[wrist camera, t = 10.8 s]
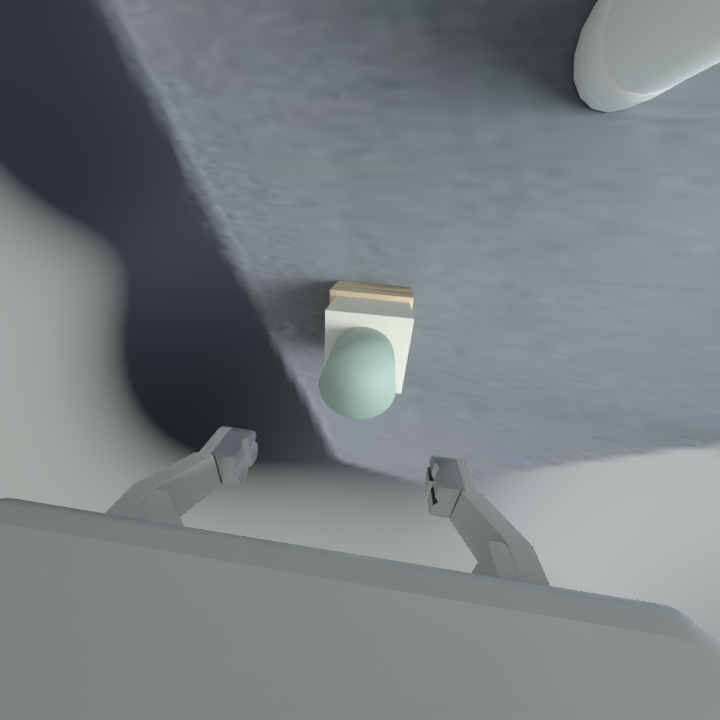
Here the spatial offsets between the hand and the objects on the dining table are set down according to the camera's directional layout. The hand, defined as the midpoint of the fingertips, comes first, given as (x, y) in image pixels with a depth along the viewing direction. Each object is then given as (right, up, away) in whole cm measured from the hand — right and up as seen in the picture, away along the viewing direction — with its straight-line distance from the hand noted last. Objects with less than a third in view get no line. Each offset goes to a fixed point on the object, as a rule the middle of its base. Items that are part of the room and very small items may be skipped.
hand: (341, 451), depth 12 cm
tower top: (+2, +7, +14) cm, 16 cm away
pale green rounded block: (+1, +5, +10) cm, 11 cm away
